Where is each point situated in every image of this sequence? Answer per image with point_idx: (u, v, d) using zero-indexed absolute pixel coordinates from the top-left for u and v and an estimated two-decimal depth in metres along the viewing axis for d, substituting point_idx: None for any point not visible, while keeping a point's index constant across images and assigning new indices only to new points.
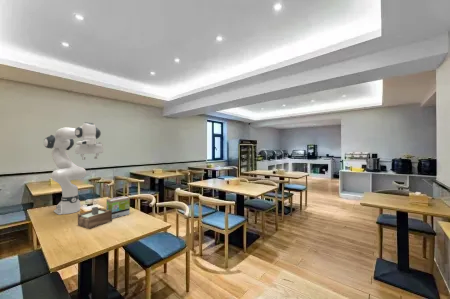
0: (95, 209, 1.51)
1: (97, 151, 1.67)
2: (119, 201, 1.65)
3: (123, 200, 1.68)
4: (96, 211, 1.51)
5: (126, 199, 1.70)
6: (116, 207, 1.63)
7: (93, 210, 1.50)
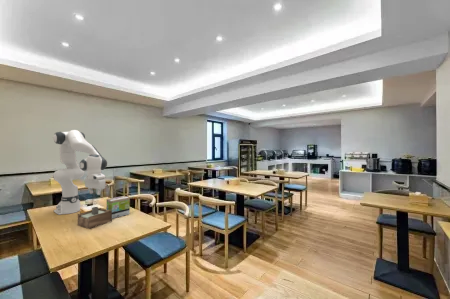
0: (95, 209, 1.51)
1: None
2: (119, 201, 1.65)
3: (123, 200, 1.67)
4: (96, 211, 1.51)
5: (126, 199, 1.70)
6: (116, 207, 1.63)
7: (93, 210, 1.50)
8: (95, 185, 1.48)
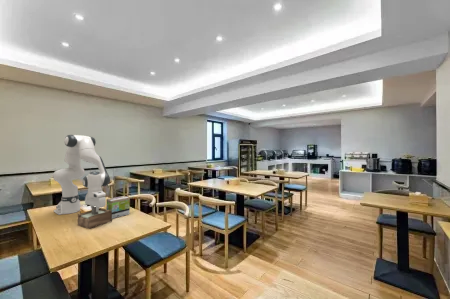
0: (95, 209, 1.51)
1: None
2: (119, 201, 1.65)
3: (123, 200, 1.67)
4: None
5: (126, 199, 1.70)
6: (116, 207, 1.63)
7: (93, 210, 1.50)
8: (95, 203, 1.48)
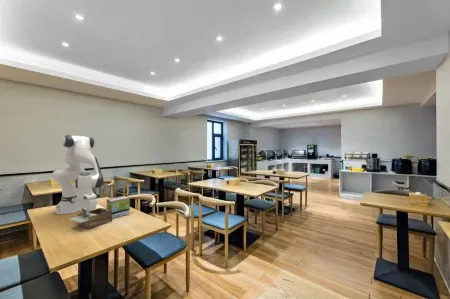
0: None
1: None
2: (119, 201, 1.65)
3: (123, 200, 1.67)
4: None
5: (126, 199, 1.70)
6: (116, 207, 1.63)
7: (83, 213, 1.44)
8: (85, 205, 1.42)
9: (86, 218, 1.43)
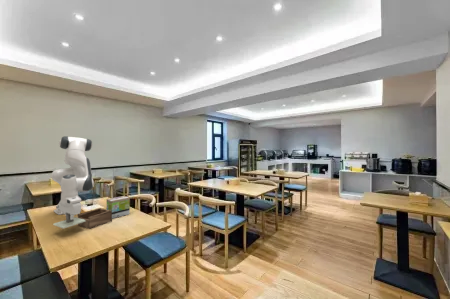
0: (69, 216, 1.36)
1: None
2: (119, 201, 1.65)
3: (123, 200, 1.68)
4: None
5: (126, 199, 1.70)
6: (116, 207, 1.63)
7: (67, 217, 1.35)
8: (69, 209, 1.33)
9: (70, 223, 1.34)
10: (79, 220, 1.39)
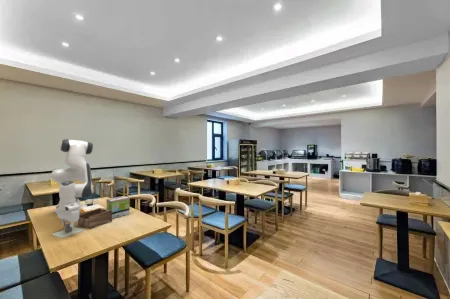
0: (68, 226, 1.35)
1: None
2: (119, 201, 1.65)
3: (123, 200, 1.67)
4: (69, 229, 1.36)
5: (126, 199, 1.70)
6: (116, 207, 1.63)
7: (66, 228, 1.35)
8: (68, 217, 1.32)
9: (68, 233, 1.33)
10: (78, 230, 1.38)
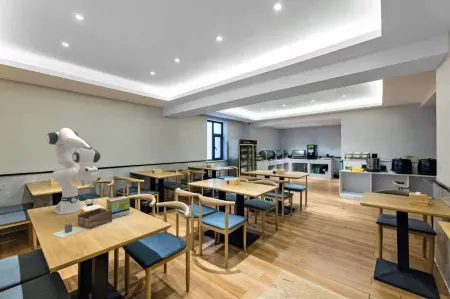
0: (68, 226, 1.35)
1: None
2: (119, 201, 1.65)
3: (123, 200, 1.67)
4: (69, 229, 1.36)
5: (126, 199, 1.70)
6: (116, 207, 1.63)
7: (66, 228, 1.35)
8: (87, 177, 1.49)
9: (68, 233, 1.33)
10: (78, 230, 1.39)
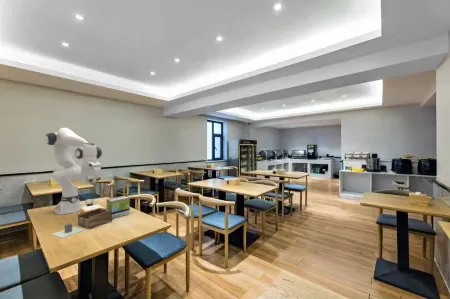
0: (68, 226, 1.35)
1: None
2: (119, 201, 1.65)
3: (123, 200, 1.67)
4: (69, 228, 1.36)
5: (126, 199, 1.70)
6: (116, 207, 1.63)
7: (66, 228, 1.35)
8: (91, 173, 1.52)
9: (68, 233, 1.33)
10: (78, 230, 1.39)
